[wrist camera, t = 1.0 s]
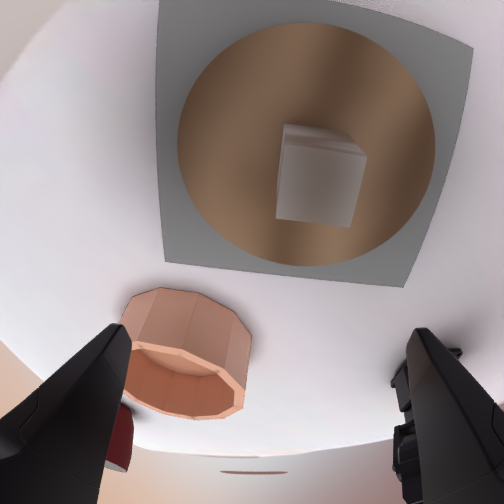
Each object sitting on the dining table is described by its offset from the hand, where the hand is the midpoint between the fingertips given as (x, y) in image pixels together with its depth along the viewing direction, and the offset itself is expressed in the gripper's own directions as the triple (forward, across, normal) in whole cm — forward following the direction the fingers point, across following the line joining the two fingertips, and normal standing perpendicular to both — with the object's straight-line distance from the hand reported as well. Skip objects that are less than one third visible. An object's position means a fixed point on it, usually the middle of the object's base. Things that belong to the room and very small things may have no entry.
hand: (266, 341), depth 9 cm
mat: (+12, -2, -2) cm, 12 cm away
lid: (+10, -2, -2) cm, 11 cm away
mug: (+12, +24, +32) cm, 42 cm away
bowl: (+11, +8, +14) cm, 20 cm away
